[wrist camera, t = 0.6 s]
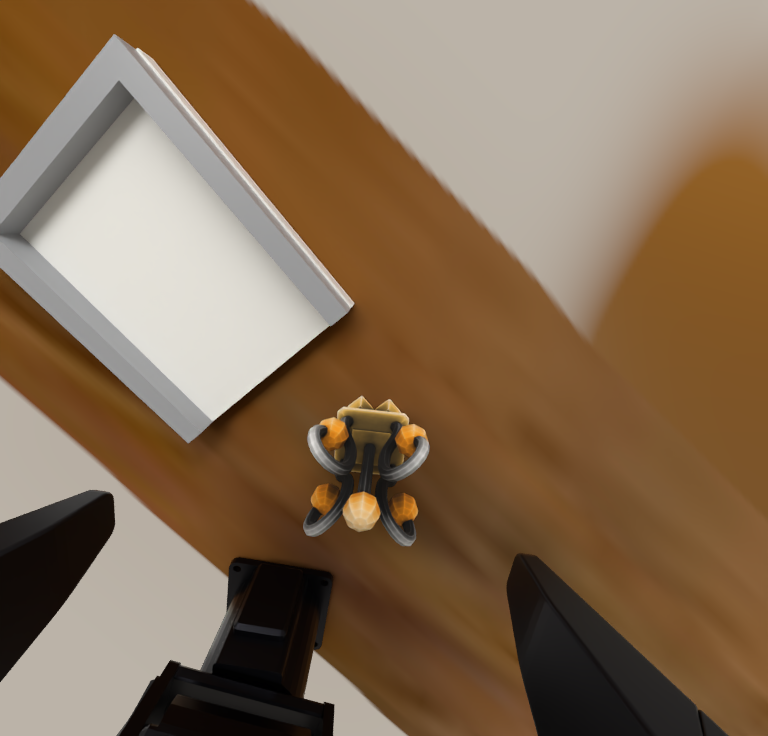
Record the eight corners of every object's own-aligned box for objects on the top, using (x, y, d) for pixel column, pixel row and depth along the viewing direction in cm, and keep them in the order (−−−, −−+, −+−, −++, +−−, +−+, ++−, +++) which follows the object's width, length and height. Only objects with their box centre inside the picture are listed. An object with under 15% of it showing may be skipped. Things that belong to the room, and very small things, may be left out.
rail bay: (354, 303, 19) (349, 311, 17) (207, 424, 21) (186, 444, 19) (152, 59, 16) (115, 31, 14) (8, 232, 18) (-42, 231, 16)
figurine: (432, 386, 20) (431, 476, 12) (419, 465, 22) (411, 589, 14) (343, 373, 20) (288, 453, 13) (337, 452, 22) (285, 565, 14)
